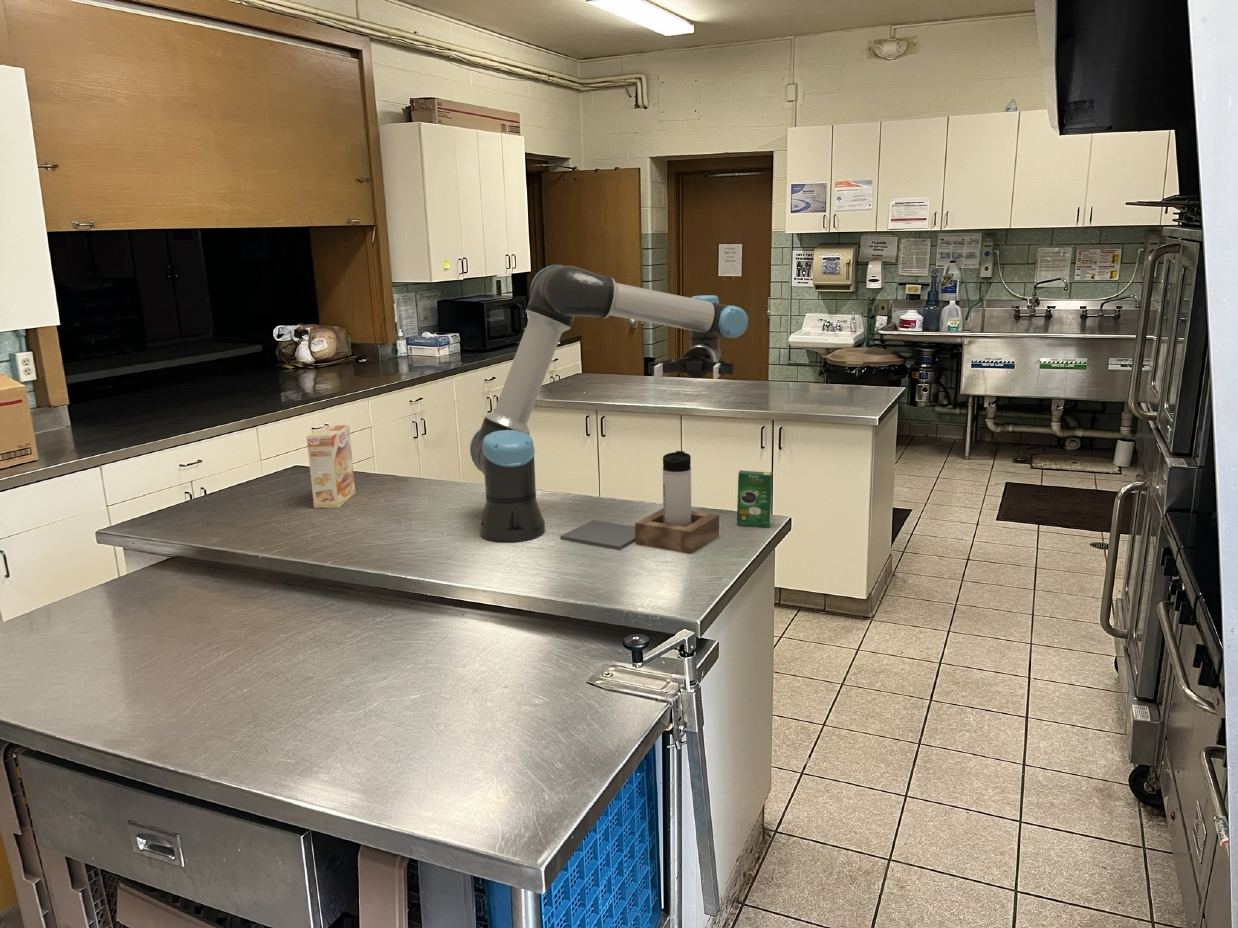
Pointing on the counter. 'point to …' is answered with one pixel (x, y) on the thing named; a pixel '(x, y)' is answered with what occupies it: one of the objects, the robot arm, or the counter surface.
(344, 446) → the coffeecake box
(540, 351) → the robot arm
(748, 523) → the coffee box
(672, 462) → the travel mug
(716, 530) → the holder
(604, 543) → the mat
